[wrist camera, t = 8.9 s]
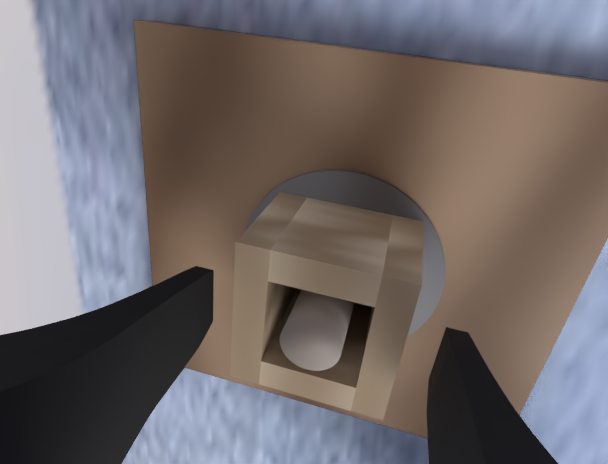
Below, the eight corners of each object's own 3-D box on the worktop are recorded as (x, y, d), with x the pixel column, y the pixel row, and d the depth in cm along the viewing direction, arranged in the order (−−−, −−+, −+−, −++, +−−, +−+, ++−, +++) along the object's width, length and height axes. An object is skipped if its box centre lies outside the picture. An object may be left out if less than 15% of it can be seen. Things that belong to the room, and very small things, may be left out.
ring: (422, 221, 14) (422, 284, 10) (391, 336, 16) (382, 420, 13) (279, 192, 15) (235, 241, 11) (269, 305, 17) (230, 375, 14)
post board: (661, 87, 12) (823, 127, 7) (494, 438, 19) (518, 580, 14) (150, 20, 15) (17, 16, 10) (168, 346, 21) (95, 437, 17)
